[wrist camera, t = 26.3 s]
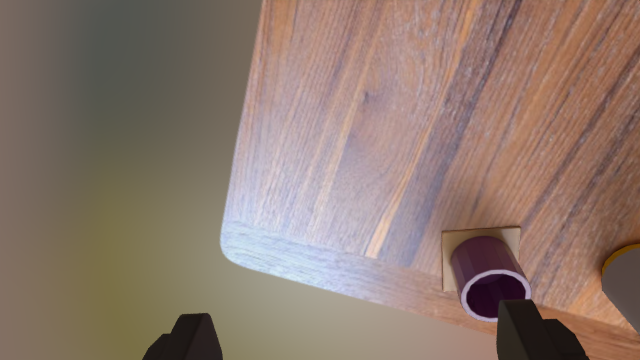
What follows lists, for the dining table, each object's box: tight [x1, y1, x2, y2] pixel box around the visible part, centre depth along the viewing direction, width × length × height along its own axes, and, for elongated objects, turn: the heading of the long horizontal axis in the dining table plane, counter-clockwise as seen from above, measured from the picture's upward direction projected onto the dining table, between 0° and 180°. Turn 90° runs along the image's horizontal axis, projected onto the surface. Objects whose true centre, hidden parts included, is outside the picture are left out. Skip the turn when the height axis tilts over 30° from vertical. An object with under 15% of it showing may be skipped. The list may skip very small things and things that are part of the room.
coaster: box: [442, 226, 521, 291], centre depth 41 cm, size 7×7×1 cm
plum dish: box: [450, 236, 532, 322], centre depth 39 cm, size 6×6×5 cm
